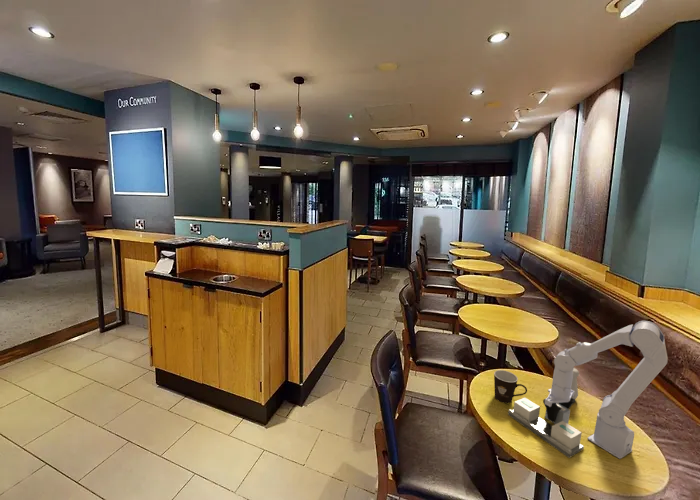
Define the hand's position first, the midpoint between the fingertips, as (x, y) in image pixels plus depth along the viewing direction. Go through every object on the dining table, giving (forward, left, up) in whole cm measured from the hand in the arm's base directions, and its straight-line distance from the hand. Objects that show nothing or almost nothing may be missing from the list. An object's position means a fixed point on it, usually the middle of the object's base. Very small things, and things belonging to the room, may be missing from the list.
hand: (556, 417), depth 117 cm
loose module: (0, 0, -2) cm, 2 cm away
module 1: (+6, +9, 0) cm, 11 cm away
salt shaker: (+6, -18, -2) cm, 20 cm away
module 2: (-8, +9, 0) cm, 12 cm away
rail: (-1, +10, -1) cm, 10 cm away
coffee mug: (+16, +6, -2) cm, 17 cm away
